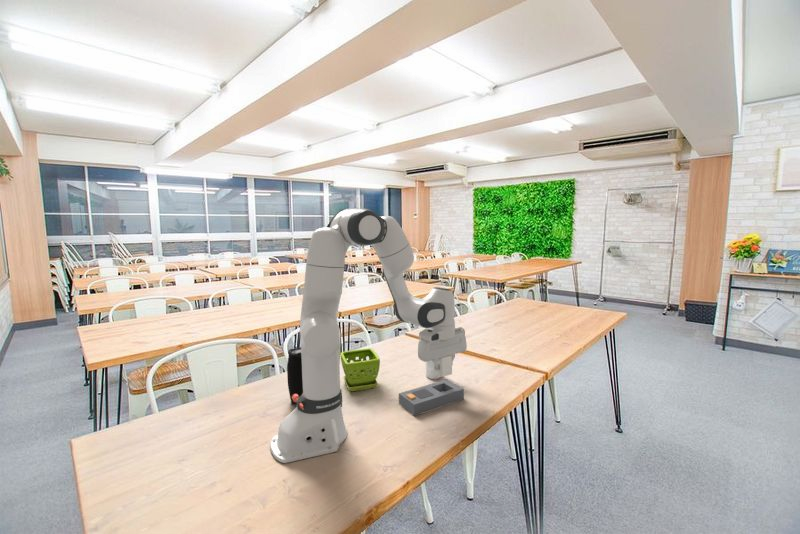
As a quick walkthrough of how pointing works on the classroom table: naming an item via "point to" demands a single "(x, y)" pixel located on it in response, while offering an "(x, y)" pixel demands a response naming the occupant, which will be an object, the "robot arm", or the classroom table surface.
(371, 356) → the flower pot
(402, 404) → the power strip
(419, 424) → the classroom table surface
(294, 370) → the portable speaker
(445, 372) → the block
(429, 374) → the water bottle
